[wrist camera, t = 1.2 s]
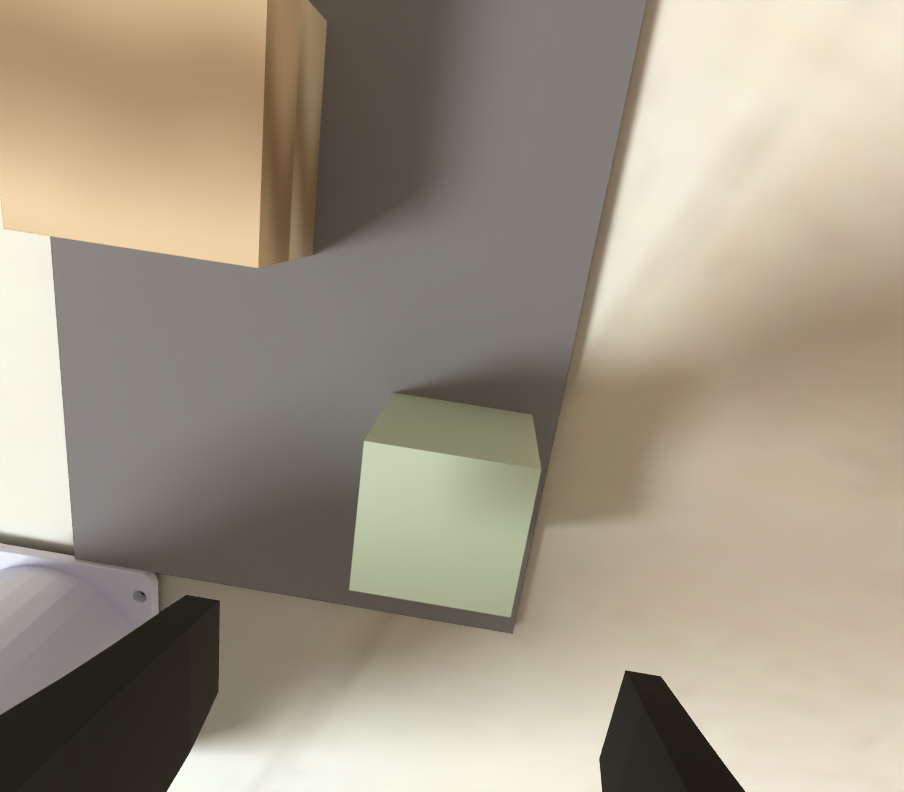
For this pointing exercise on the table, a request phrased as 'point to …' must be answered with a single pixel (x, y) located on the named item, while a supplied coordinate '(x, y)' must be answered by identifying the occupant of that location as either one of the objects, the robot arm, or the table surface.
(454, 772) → the table surface
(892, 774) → the table surface
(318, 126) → the tower base slab
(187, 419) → the mat
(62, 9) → the tower top slab
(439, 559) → the green block
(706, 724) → the table surface
